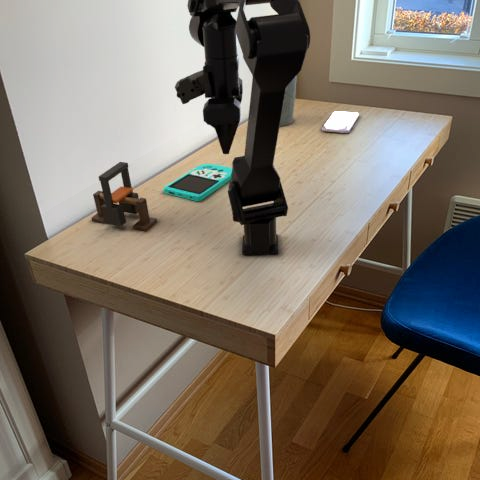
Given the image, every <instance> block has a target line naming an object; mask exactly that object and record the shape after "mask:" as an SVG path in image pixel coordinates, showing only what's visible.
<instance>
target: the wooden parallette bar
mask: <svg viewBox="0 0 480 480" xmlns="http://www.w3.org/2000/svg"><path fill="white" fill-rule="evenodd" d="M92 196H93V200H94V201H93V202H94V204H95V208H96V209H95V210H96V214H94V215H93V216H92V217H91V221H92V222H94V223H95V222H96V223H100V224H101V223H102V224H105V221H104V216H103V212H102V208H101V206H102V205H104V204H105V201H104V195H103V191H102V190H97V191H96V192H94V193H93V194H92ZM119 202H121V203H127V204H133V205H137V209H138V213H137V215H138V221H136V222H135V223H134V224H133V225H132V226H133V230H139V231H144V232H147V231H149V230H150V229H151V228H152V227H153V226H154V225H156V224H157V222H158V219H157V217H150V213H149V208H148V201H147V198H146V197H139V199H136V198H130V197H124V198H123V199H122V200H120V201H119ZM119 202H118V203H119Z"/></svg>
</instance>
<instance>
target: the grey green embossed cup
mask: <svg viewBox="0 0 480 480" xmlns="http://www.w3.org/2000/svg"><path fill="white" fill-rule="evenodd" d="M297 76H298V75H296V77H295V78H294V79H293V80H292V81H291V82H290V83H289V85H288V86H287V87H286V92H285V98H284V104H283V109H282V115H281V121H280V127H284V126H289V125H290V124H292V123H293V121H294V111H295V100H296V90H297V80H298V77H297Z"/></svg>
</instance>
